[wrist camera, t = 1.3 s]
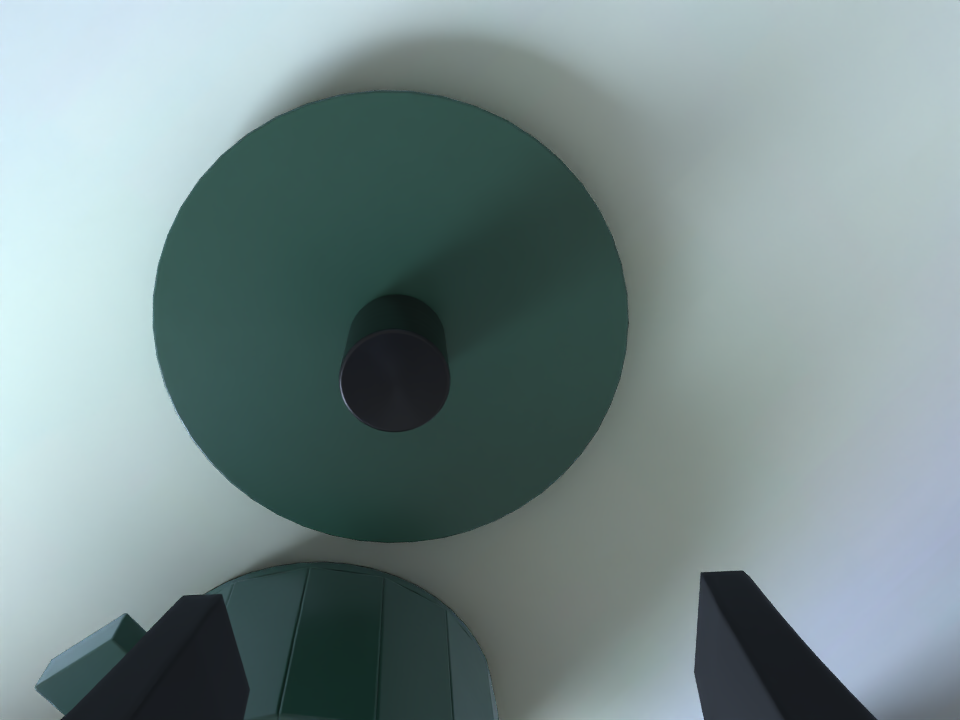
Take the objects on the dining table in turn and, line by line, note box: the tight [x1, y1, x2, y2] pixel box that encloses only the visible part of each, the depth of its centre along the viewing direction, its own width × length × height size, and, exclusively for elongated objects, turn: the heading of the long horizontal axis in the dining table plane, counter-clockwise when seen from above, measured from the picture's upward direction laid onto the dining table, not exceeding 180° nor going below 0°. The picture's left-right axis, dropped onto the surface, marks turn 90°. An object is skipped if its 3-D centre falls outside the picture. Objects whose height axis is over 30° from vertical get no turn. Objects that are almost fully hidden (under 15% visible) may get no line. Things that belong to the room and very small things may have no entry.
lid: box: [153, 90, 629, 543], centre depth 20 cm, size 13×13×4 cm
